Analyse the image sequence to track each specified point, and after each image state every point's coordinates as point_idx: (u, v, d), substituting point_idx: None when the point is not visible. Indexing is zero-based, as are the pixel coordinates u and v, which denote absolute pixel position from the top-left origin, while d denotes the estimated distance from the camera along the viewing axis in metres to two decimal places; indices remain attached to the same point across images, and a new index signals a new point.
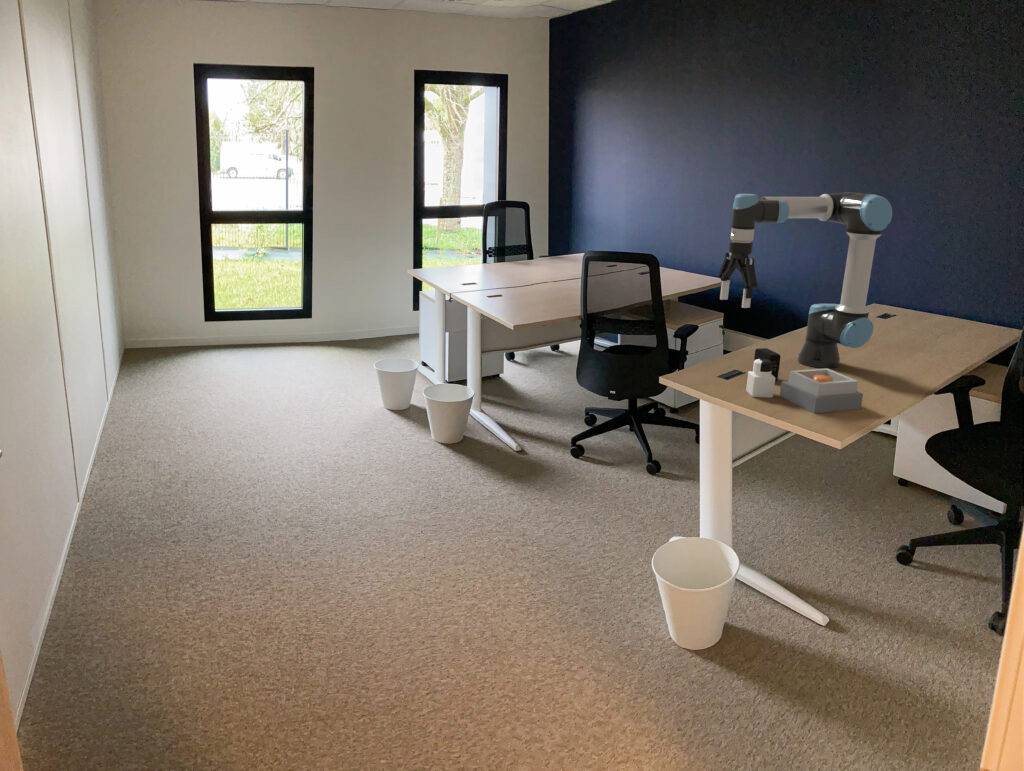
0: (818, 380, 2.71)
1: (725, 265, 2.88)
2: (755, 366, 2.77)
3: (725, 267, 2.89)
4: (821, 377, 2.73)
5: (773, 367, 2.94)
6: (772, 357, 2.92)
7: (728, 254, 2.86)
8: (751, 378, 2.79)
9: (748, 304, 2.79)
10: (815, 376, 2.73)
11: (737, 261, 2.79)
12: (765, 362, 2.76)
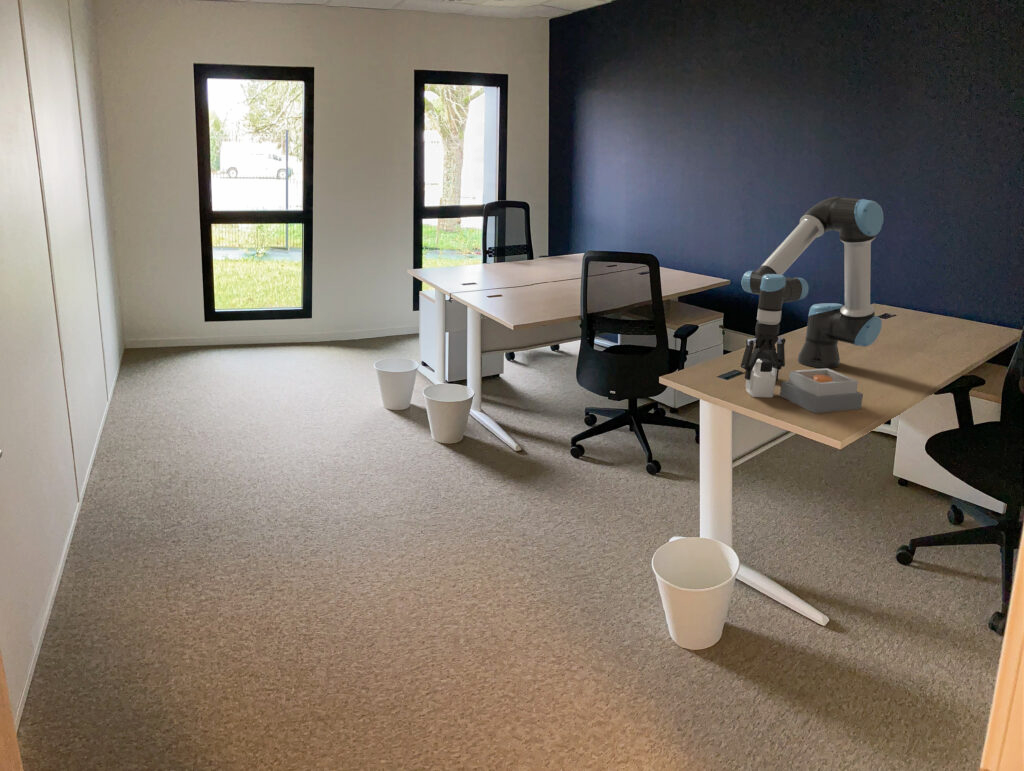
0: (818, 380, 2.71)
1: (777, 350, 2.79)
2: (755, 366, 2.77)
3: (778, 352, 2.79)
4: (821, 377, 2.73)
5: None
6: None
7: None
8: None
9: (749, 386, 2.78)
10: (815, 376, 2.73)
11: None
12: (765, 362, 2.76)
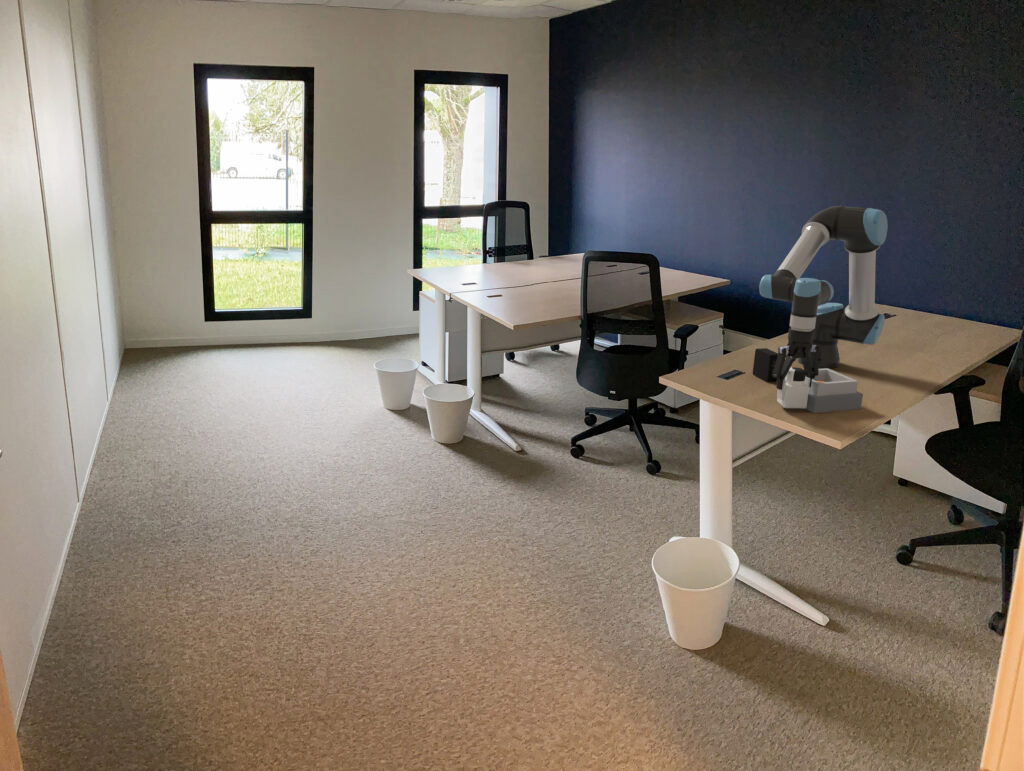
0: None
1: (811, 358, 2.65)
2: (787, 375, 2.62)
3: (811, 361, 2.65)
4: None
5: (773, 367, 2.94)
6: (772, 357, 2.92)
7: None
8: None
9: (780, 396, 2.63)
10: None
11: None
12: (798, 371, 2.61)
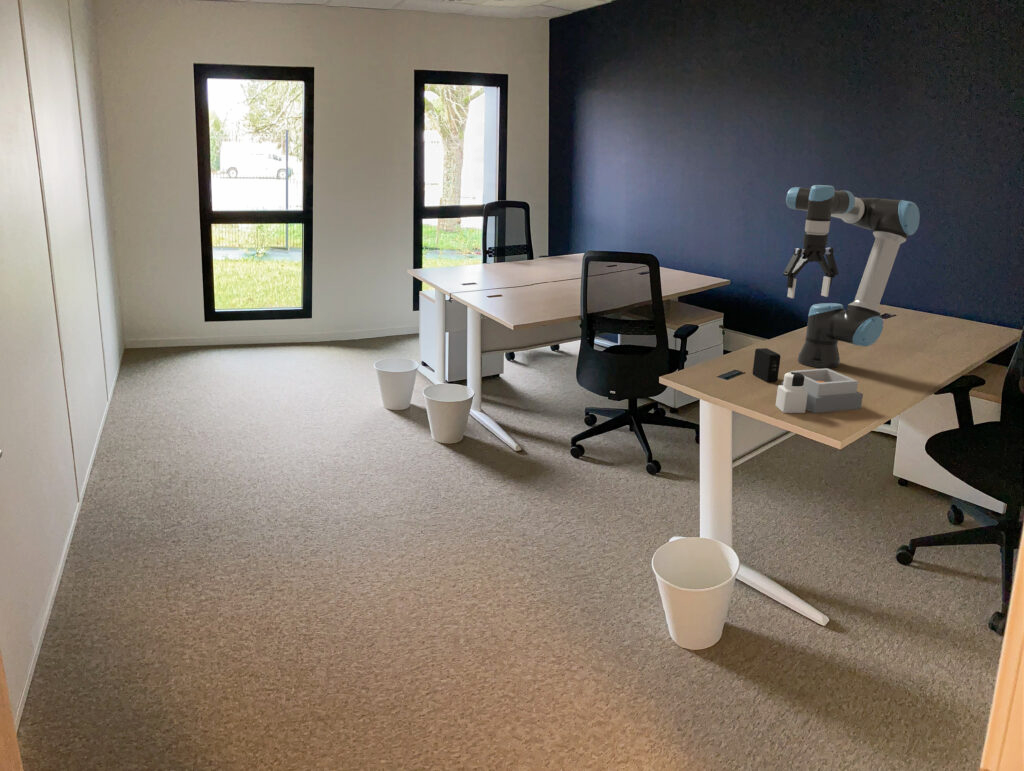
0: None
1: (828, 260, 2.81)
2: (786, 380, 2.63)
3: (829, 262, 2.81)
4: None
5: (773, 367, 2.94)
6: (772, 357, 2.92)
7: None
8: (782, 392, 2.64)
9: (791, 294, 2.79)
10: None
11: None
12: (797, 376, 2.61)
